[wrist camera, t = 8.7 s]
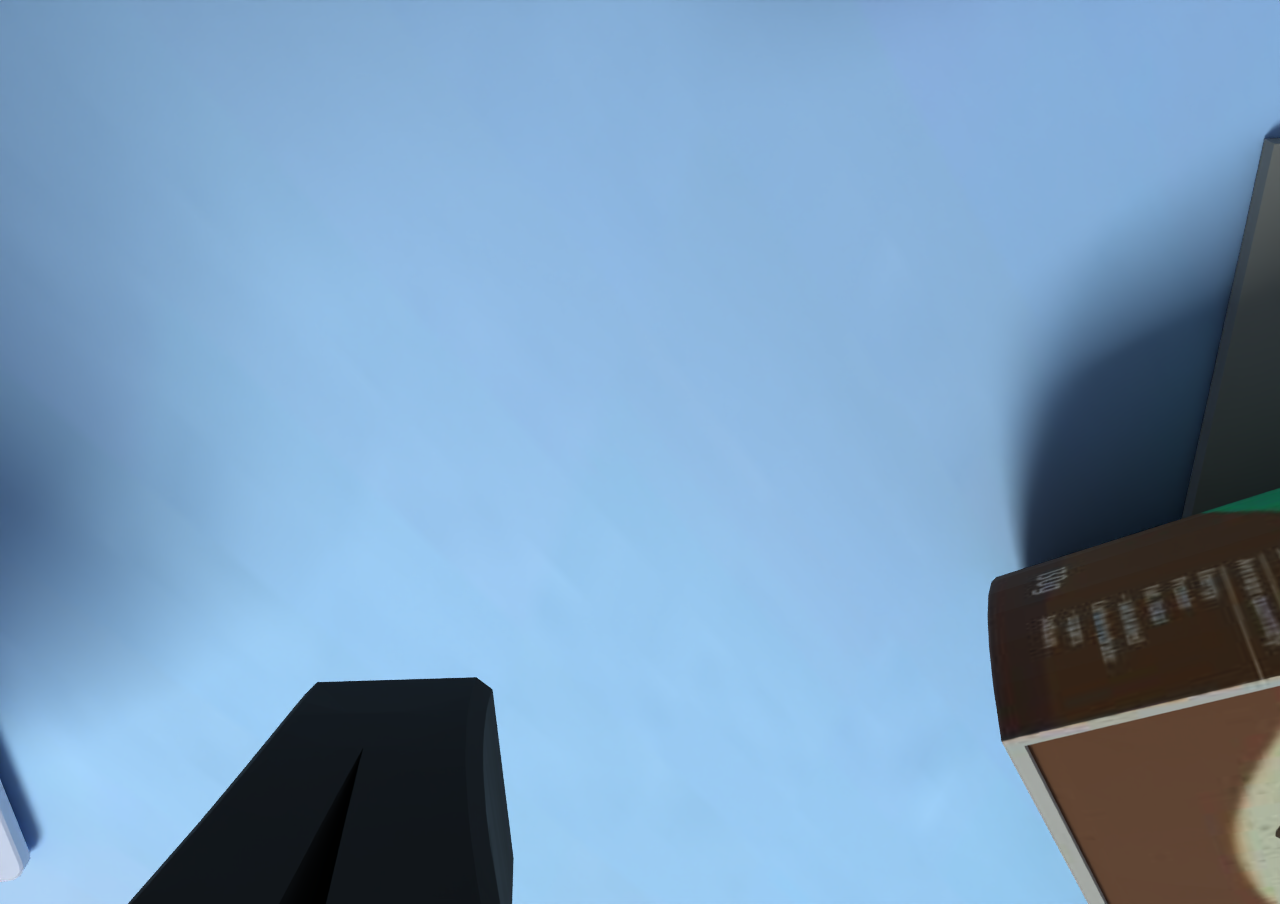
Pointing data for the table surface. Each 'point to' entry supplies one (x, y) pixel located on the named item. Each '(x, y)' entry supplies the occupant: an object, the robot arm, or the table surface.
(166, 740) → the table surface
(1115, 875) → the food container
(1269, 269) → the mat
